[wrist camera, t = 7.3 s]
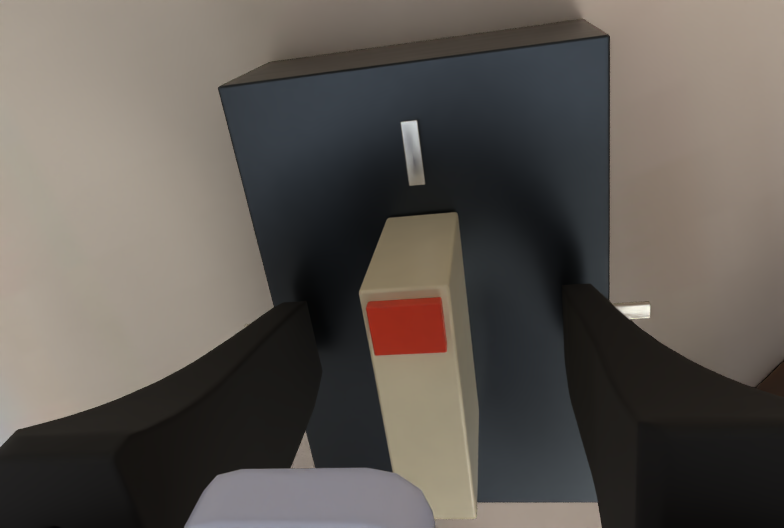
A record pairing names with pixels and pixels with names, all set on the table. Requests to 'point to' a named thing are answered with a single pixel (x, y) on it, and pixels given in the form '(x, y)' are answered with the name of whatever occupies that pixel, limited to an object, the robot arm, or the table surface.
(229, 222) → the table surface
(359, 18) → the table surface
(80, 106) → the table surface
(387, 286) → the bar knob
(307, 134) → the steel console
